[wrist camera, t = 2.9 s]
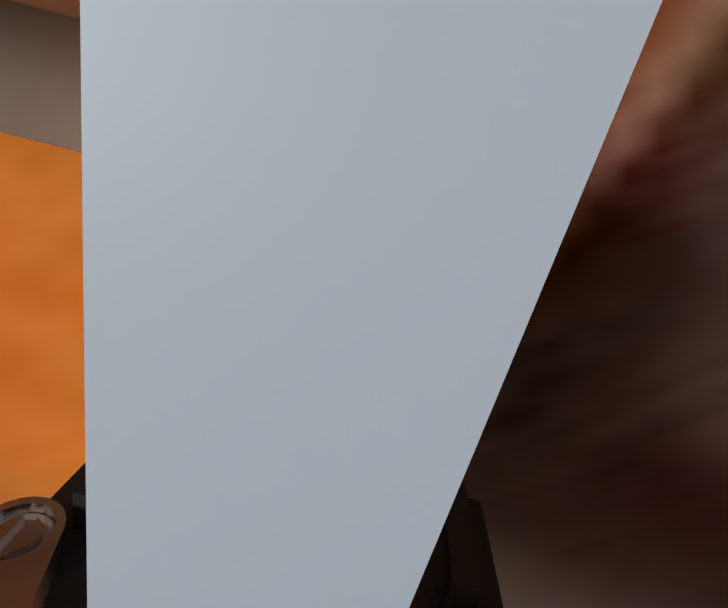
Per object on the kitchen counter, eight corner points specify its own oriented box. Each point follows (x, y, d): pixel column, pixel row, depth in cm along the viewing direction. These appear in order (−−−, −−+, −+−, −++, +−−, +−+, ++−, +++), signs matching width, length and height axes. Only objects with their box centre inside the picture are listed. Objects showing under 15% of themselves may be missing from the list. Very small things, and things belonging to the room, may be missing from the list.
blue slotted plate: (342, 81, 9) (80, -157, 2) (452, 109, 9) (663, -6, 2) (271, 449, 13) (90, 879, 5) (349, 468, 13) (277, 924, 5)
